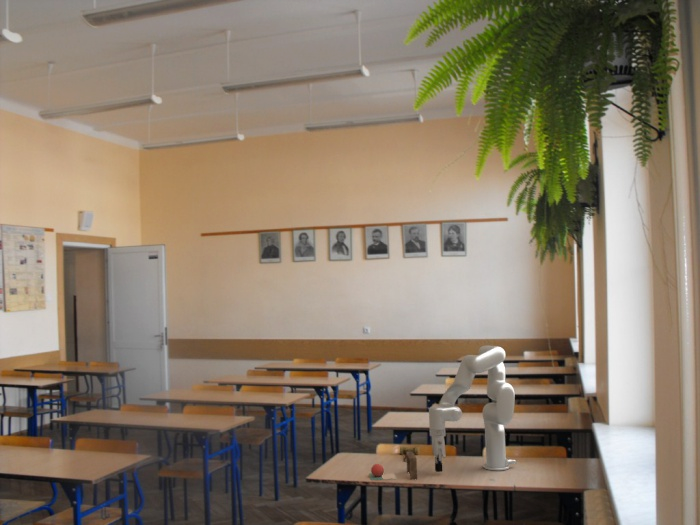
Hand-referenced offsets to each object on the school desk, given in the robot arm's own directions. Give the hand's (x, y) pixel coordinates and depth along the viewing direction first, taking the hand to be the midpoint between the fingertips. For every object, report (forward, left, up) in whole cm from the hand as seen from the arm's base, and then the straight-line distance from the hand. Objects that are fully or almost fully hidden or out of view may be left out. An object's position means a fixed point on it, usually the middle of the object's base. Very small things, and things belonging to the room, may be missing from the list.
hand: (438, 471), depth 313 cm
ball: (+30, 0, +2) cm, 30 cm away
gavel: (+10, -38, -2) cm, 40 cm away
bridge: (+13, 0, -2) cm, 13 cm away
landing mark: (+27, 0, -2) cm, 27 cm away
